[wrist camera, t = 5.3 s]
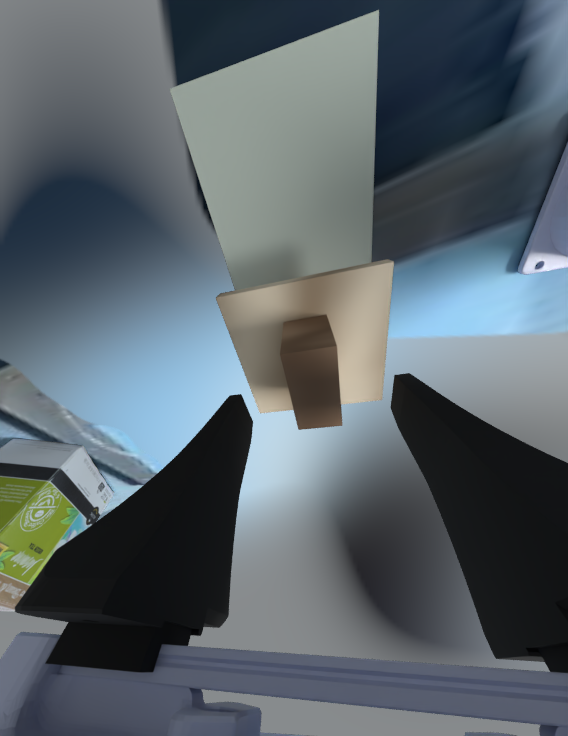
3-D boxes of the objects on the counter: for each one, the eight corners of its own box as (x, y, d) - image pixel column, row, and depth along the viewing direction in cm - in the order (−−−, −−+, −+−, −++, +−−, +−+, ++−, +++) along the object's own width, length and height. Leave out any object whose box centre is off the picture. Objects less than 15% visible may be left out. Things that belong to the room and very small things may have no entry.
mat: (374, 20, 9) (378, 10, 9) (368, 261, 15) (371, 263, 15) (175, 94, 11) (169, 89, 10) (237, 289, 17) (235, 291, 16)
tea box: (118, 492, 39) (38, 615, 27) (62, 486, 38) (-46, 608, 26) (84, 443, 30) (-57, 593, 18) (11, 435, 30) (-184, 583, 18)
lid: (387, 259, 10) (434, 278, 7) (378, 392, 16) (402, 442, 12) (220, 293, 12) (188, 324, 8) (261, 405, 17) (252, 454, 13)
